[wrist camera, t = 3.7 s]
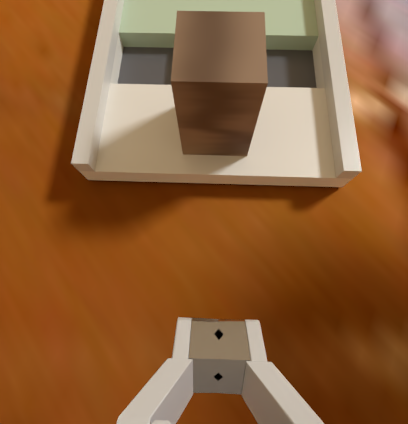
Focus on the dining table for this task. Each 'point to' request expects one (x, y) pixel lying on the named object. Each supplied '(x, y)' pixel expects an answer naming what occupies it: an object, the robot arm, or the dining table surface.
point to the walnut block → (218, 80)
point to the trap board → (268, 116)
